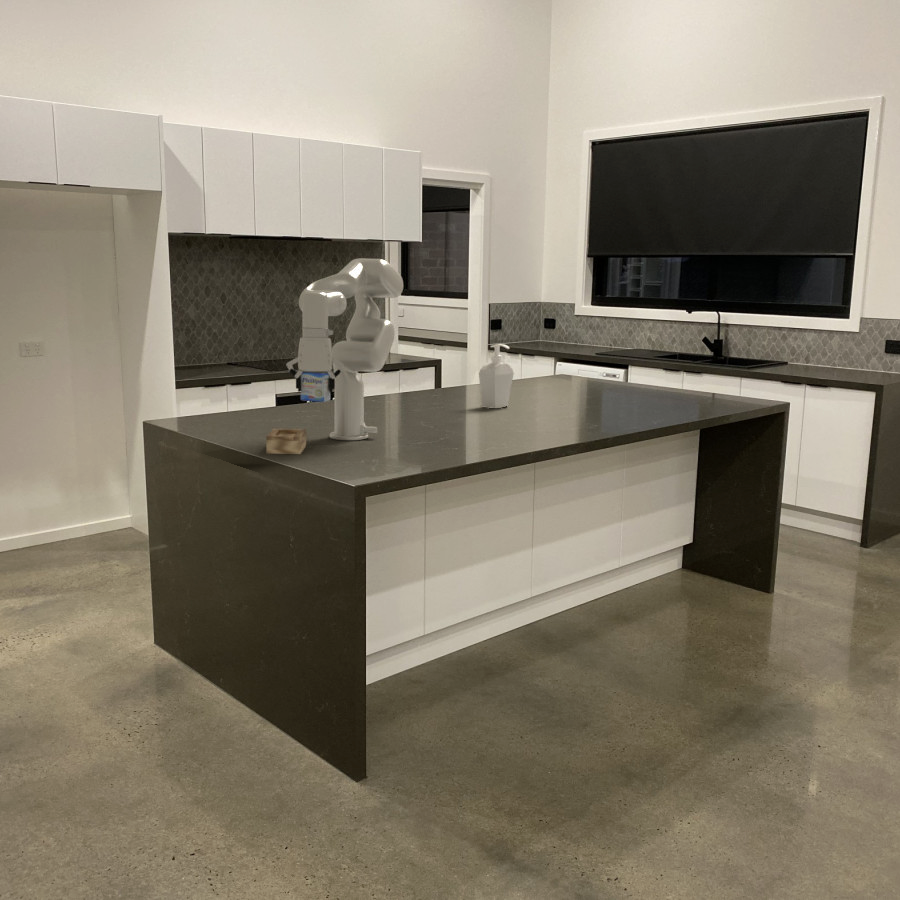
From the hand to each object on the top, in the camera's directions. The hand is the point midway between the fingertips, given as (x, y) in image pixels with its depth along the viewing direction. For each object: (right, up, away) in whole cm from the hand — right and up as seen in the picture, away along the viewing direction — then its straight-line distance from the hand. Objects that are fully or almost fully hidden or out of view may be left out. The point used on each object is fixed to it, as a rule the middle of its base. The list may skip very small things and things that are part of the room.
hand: (315, 391), depth 272 cm
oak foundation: (-9, -17, +4) cm, 20 cm away
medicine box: (0, -3, +1) cm, 3 cm away
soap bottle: (+60, -1, +98) cm, 115 cm away
